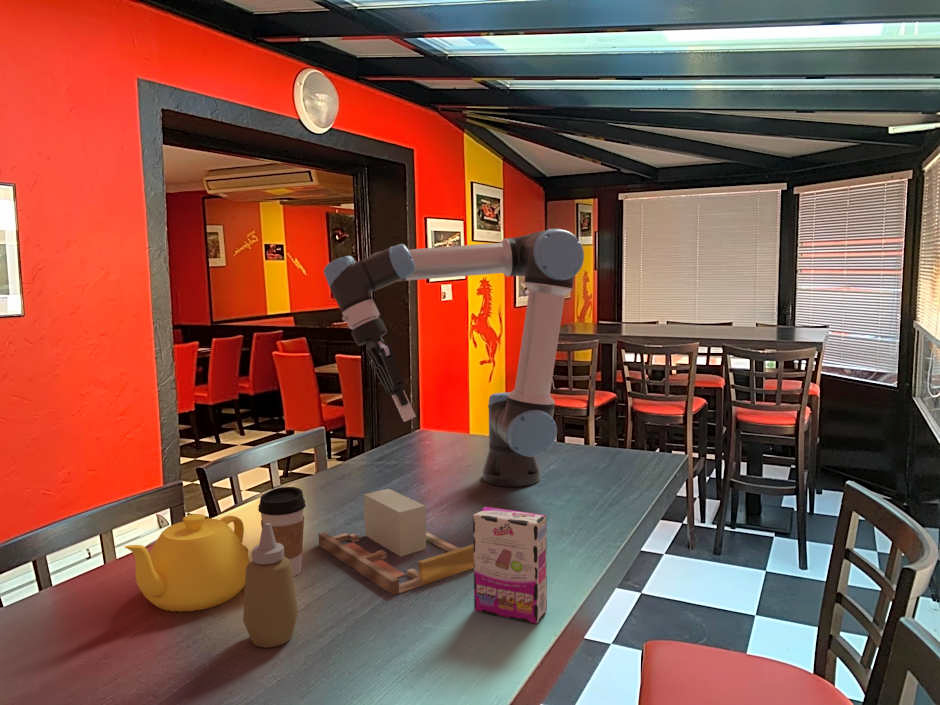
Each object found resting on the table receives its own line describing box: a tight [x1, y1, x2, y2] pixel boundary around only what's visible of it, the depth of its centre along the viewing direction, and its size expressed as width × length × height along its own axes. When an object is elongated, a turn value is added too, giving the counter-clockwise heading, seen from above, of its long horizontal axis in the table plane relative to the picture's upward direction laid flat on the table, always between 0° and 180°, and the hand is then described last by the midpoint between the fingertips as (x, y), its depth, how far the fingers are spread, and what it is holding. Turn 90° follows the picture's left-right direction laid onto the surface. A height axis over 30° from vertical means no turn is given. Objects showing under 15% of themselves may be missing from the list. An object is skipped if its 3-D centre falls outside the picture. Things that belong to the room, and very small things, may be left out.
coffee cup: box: [257, 486, 306, 577], centre depth 130 cm, size 8×8×15 cm
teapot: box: [124, 513, 251, 613], centre depth 122 cm, size 25×18×14 cm
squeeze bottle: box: [242, 523, 299, 649], centre depth 107 cm, size 8×8×18 cm
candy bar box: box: [472, 506, 548, 624], centre depth 114 cm, size 11×5×16 cm, turn 65°
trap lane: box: [318, 531, 474, 596], centre depth 138 cm, size 28×20×4 cm
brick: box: [363, 488, 427, 557], centre depth 145 cm, size 14×6×9 cm, turn 38°
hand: (409, 419), depth 158 cm, fingers closed
